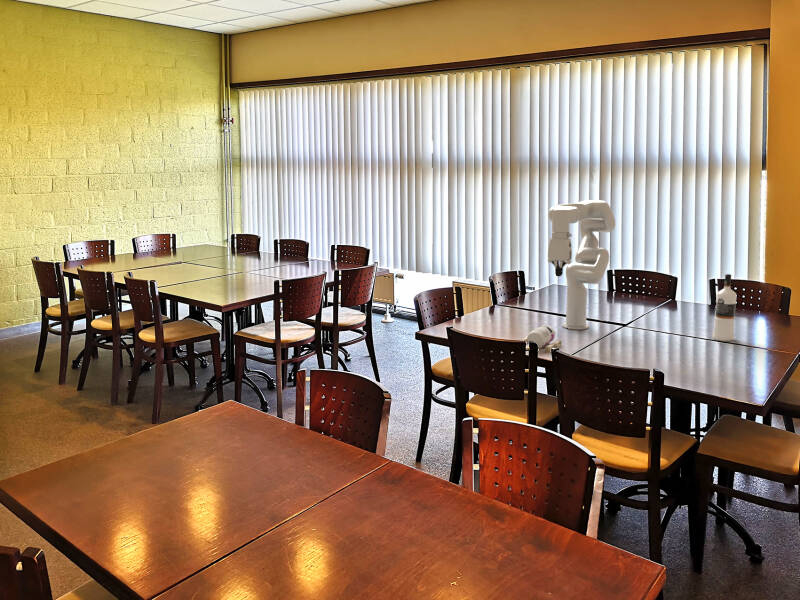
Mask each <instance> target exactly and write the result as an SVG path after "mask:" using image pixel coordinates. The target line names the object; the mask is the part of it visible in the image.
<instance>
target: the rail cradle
mask: <svg viewBox="0 0 800 600" xmlns="http://www.w3.org/2000/svg"><path fill="white" fill-rule="evenodd" d="M527 337H528V336H526V337H524V338H521V340H524V341H526V342H527ZM527 343H528V342H527ZM526 345H527V349H526V350H528V344H526ZM559 346H560V347H562V340H559V339H557V340H555V341H554V342H552V343H551V342H550V343H548V344H547V345H545V346H543V347H542V348H540V349H539V351H538V352H541V353H547V354H549V353H551V352H550V350H551V349H552V348H557V347H558V348H560V347H559ZM558 348H557V349H558ZM528 351H529V350H528Z"/></svg>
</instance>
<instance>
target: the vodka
mask: <svg viewBox="0 0 800 600" xmlns="http://www.w3.org/2000/svg"><path fill="white" fill-rule="evenodd" d="M731 282H732V274H731V273H726V274H725V275H724V286H723V288H722V289H721V290H719V291H718V292H717V293H716V300H715V303H716V304H715V316H714V324H713V325H714V326H713V331H712V335H711V337H712V339H713V340H715V339H716V341H718V340H720V341H719V342H732V341H734V340H735V329H734V328H735V319H736V303H737V298H738V297H737V293H736V292H735V291H734V290H733V289H731V285H732V284H731Z"/></svg>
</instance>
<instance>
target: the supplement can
mask: <svg viewBox="0 0 800 600" xmlns="http://www.w3.org/2000/svg"><path fill="white" fill-rule="evenodd" d="M526 337H527V342H528V344H529V341H533V342H535V343H536V344H537V345H538V349H540V348H542V347H543V346H545V345H547V344H548V343H550V344H551V342H553V341H554V339H555V338H556V331H555V329H554V328H553V327H552V326H551V325H549V324H543V325H542V324H541V326H539V327H536V328H535V329H533V330H531V331H530V332H529V333H528V334H527V336H526Z"/></svg>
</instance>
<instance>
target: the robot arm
mask: <svg viewBox="0 0 800 600" xmlns="http://www.w3.org/2000/svg"><path fill="white" fill-rule="evenodd" d="M548 219H549V221H550V222H551V238H550V239H549V243H548V249H547V250H548V251H547V263H550V264H552V265H553V266H554V268H555V269H554V272H555V273H554V274H555V276H556V277H562V276H563V274H564V273H563V272H564V267H565V266H566V265H567V266H566V268H565V278H566V309H565V310H566V311H565V312H566V313H565V314H566V315H565V322H564V323H562V327H563V328H565V329H567V328H568V329H569V330H579V331H580V330H587V329H589V328H590V324H588V323H587V319H588V318H587V306H588V305H587V302H588V300H587V299H588V290H587V288H586V286H585V284H587V285H589V284H590V285H598V284H600V283H601V282H602V280H603V278H604V275H605V272H606V270H607V267H608V266H609V261H610V254H609V250H608V249H606V248H604V247H599V243H600V241H599V239H598V238H597V236H596V235H595V234H594V233H596V232H597V233H611V232H613V231H614V229H615V227H616V219H615V216H614V214H613V211H612V208H611V207H610V205H609V203H608V202H607V201H605V200H591V199H589V200H583V201H579V202H573V203H572V202H571V203H563V204H558V205H557V204H556V205H554V206H552V207H550V208H549V211H548ZM578 222H579V228H580V229H579V230H580V235H581V241H580V244H579V246H578V249H577V251H576V254H575V257H574V261H575V262H572V258H573V250H572V249H573V248H572V247H573V246H572V240H571V238H572V236H573V235H572V233H570V224H576V223H578ZM593 232H594V233H593ZM568 329H567V330H568Z"/></svg>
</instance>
